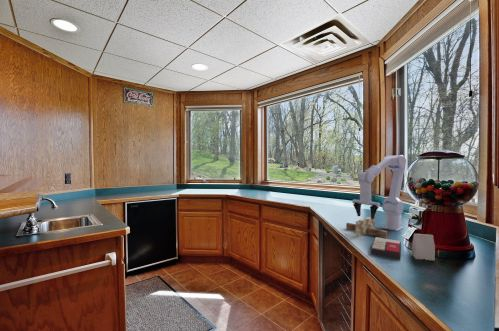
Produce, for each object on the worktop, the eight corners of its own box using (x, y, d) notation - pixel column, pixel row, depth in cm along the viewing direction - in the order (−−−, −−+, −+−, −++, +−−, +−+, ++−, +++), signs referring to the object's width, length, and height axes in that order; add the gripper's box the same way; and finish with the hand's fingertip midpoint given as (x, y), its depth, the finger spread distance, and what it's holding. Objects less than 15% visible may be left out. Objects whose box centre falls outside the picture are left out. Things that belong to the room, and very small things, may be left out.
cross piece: (371, 229, 137) (371, 216, 137) (374, 230, 135) (374, 216, 135) (355, 235, 126) (355, 221, 126) (359, 236, 125) (359, 222, 124)
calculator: (370, 247, 102) (374, 235, 114) (370, 256, 102) (374, 244, 114) (400, 252, 96) (401, 239, 108) (400, 262, 96) (401, 248, 108)
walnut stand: (346, 228, 139) (346, 223, 139) (348, 228, 140) (348, 222, 140) (385, 238, 121) (385, 232, 121) (387, 237, 123) (387, 231, 123)
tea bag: (434, 260, 95) (435, 236, 95) (415, 258, 97) (415, 235, 97) (430, 257, 98) (431, 233, 98) (412, 255, 100) (412, 232, 100)
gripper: (349, 192, 133) (349, 216, 134) (375, 195, 122) (375, 221, 122) (355, 191, 138) (355, 214, 138) (381, 194, 126) (381, 218, 127)
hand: (365, 217), depth 131 cm, fingers open, 7 cm apart
